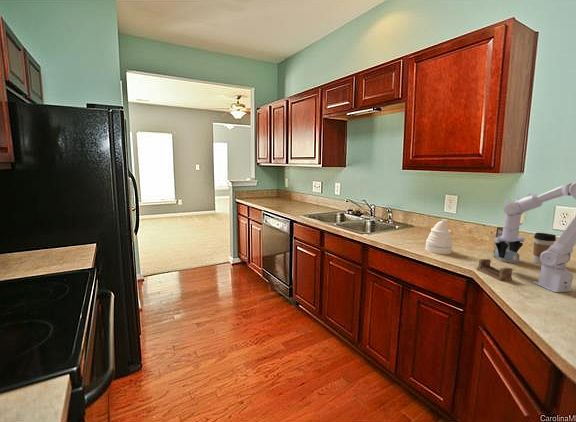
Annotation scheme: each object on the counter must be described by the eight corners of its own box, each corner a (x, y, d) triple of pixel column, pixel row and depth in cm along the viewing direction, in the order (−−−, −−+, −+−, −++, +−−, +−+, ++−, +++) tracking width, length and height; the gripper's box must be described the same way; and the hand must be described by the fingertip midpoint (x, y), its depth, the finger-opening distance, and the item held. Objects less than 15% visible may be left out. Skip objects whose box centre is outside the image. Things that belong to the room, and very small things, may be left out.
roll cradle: (487, 269, 142) (489, 258, 141) (511, 279, 129) (513, 268, 128) (476, 269, 140) (478, 259, 140) (499, 280, 128) (501, 269, 127)
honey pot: (456, 253, 164) (460, 221, 161) (437, 255, 161) (441, 222, 157) (438, 246, 176) (442, 216, 173) (420, 247, 173) (423, 217, 169)
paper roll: (518, 263, 135) (520, 252, 134) (508, 263, 134) (510, 252, 133) (502, 257, 143) (504, 247, 142) (493, 257, 142) (495, 247, 141)
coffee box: (491, 255, 162) (496, 226, 159) (505, 256, 160) (510, 227, 157) (500, 261, 153) (505, 230, 150) (514, 262, 151) (519, 231, 148)
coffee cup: (543, 266, 147) (548, 236, 145) (525, 260, 155) (530, 232, 153) (555, 264, 150) (561, 235, 147) (537, 259, 158) (542, 231, 155)
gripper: (516, 225, 141) (512, 253, 143) (489, 226, 138) (485, 254, 141) (531, 229, 134) (526, 258, 136) (503, 230, 131) (498, 260, 134)
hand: (506, 257), depth 138 cm, fingers closed on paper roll, 5 cm apart
